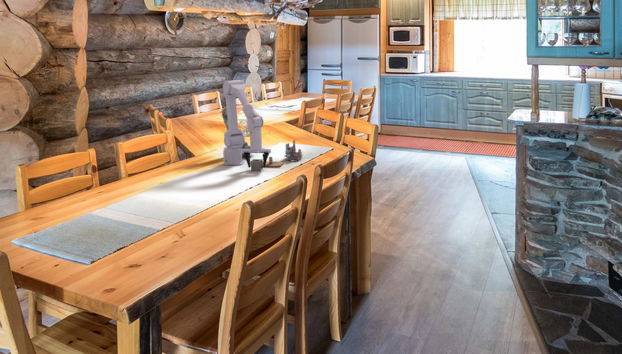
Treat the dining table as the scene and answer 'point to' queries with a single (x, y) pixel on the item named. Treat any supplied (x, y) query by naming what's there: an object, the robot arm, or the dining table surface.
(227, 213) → the dining table surface
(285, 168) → the dining table surface
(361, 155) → the dining table surface
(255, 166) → the collar
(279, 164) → the shaft block
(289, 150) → the red grey chunky piece
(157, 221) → the dining table surface
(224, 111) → the statue
